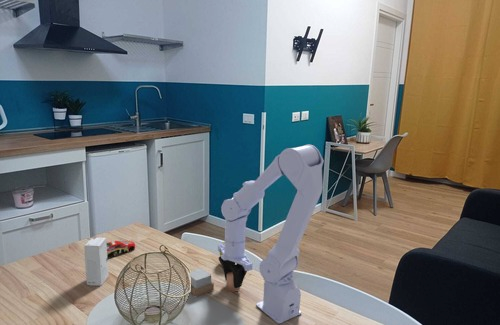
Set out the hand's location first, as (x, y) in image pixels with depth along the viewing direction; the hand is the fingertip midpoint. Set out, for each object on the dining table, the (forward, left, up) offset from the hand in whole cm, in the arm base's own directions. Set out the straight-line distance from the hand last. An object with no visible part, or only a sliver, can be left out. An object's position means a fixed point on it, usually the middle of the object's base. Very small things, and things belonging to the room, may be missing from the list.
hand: (233, 283), depth 106 cm
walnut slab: (+5, +8, -2) cm, 10 cm away
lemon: (+13, -7, -2) cm, 15 cm away
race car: (+39, +21, -2) cm, 45 cm away
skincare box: (+24, +31, -2) cm, 40 cm away
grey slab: (+5, +8, +1) cm, 10 cm away
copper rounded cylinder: (0, 0, -1) cm, 1 cm away
